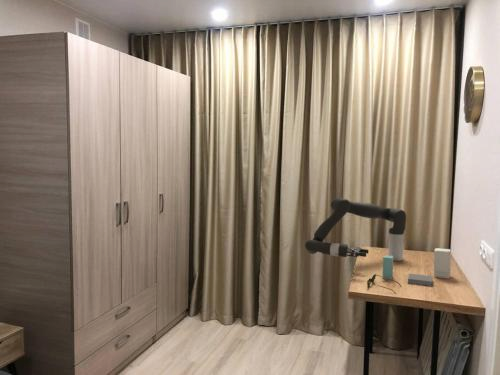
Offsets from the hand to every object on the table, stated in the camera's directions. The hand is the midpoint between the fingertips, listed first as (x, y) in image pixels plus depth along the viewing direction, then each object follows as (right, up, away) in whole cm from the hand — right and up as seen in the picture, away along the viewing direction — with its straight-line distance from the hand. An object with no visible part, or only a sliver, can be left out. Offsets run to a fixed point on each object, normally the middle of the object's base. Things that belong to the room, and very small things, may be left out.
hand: (367, 253), depth 233 cm
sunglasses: (+3, -15, -20) cm, 26 cm away
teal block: (+10, -13, -4) cm, 17 cm away
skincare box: (+42, -13, -3) cm, 44 cm away
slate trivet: (+25, -14, -12) cm, 31 cm away
